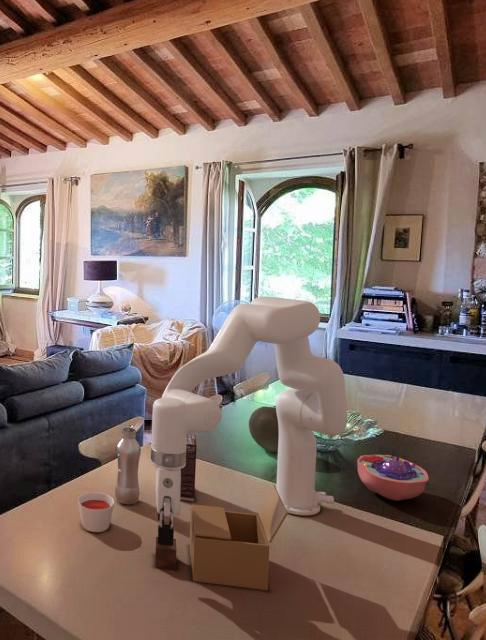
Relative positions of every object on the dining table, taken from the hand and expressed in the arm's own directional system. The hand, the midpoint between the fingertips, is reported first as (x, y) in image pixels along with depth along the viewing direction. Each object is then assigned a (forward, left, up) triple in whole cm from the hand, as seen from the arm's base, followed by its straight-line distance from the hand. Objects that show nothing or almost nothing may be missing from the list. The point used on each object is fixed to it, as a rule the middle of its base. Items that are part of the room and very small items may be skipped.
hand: (165, 532), depth 115 cm
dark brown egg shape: (-36, -73, -7) cm, 82 cm away
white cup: (+17, -12, -7) cm, 22 cm away
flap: (-22, -1, +6) cm, 23 cm away
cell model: (-64, -46, -7) cm, 79 cm away
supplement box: (-6, -34, -7) cm, 36 cm away
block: (0, 0, -7) cm, 7 cm away
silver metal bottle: (+10, -26, -7) cm, 29 cm away
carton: (-13, -1, -7) cm, 15 cm away
